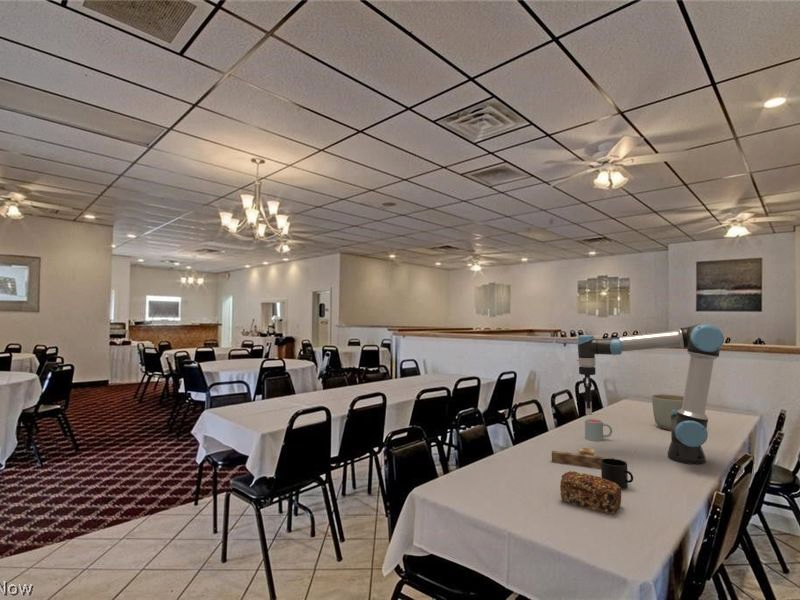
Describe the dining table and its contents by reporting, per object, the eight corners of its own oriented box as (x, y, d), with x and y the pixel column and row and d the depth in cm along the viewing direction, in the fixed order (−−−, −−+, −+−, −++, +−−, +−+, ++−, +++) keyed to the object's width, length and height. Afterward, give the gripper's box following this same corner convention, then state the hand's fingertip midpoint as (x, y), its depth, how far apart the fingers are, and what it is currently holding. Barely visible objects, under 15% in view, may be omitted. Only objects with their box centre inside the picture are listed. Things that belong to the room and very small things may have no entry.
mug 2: (627, 493, 165) (627, 469, 165) (597, 484, 174) (596, 461, 174) (638, 487, 171) (638, 464, 171) (608, 478, 180) (608, 456, 180)
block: (594, 462, 201) (593, 449, 201) (593, 466, 196) (593, 452, 196) (580, 460, 204) (579, 447, 204) (579, 464, 198) (579, 450, 199)
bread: (559, 502, 157) (559, 474, 158) (569, 493, 166) (569, 466, 166) (615, 517, 146) (614, 487, 146) (622, 506, 154) (622, 478, 154)
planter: (692, 427, 264) (692, 396, 265) (694, 435, 247) (693, 401, 248) (653, 423, 276) (652, 393, 276) (652, 430, 258) (651, 398, 259)
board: (614, 468, 192) (613, 457, 192) (614, 470, 189) (614, 459, 190) (552, 460, 203) (552, 450, 204) (551, 462, 201) (551, 452, 201)
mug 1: (585, 440, 236) (585, 422, 237) (584, 436, 245) (584, 418, 245) (613, 443, 231) (612, 424, 232) (611, 438, 240) (611, 420, 240)
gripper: (579, 364, 221) (581, 411, 219) (578, 367, 209) (580, 416, 208) (595, 365, 217) (597, 412, 216) (595, 367, 206) (597, 418, 204)
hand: (588, 414), depth 212 cm, fingers closed
